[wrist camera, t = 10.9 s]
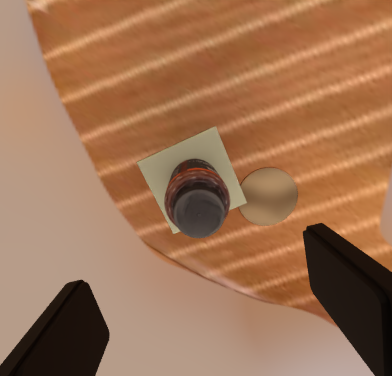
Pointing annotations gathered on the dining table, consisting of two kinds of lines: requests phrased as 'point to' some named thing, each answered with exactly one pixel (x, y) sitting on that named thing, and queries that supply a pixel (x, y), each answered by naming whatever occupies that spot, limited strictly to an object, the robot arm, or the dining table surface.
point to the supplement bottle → (196, 198)
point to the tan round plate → (268, 196)
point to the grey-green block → (188, 149)
